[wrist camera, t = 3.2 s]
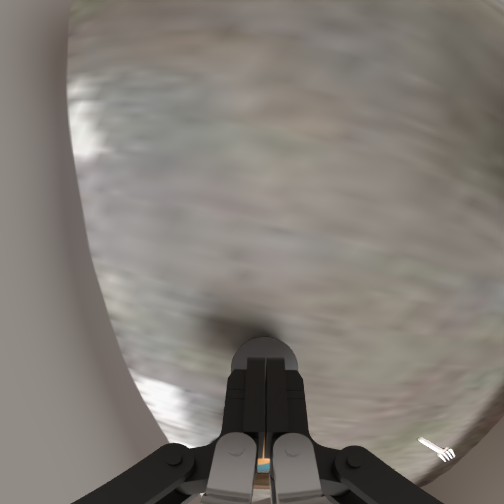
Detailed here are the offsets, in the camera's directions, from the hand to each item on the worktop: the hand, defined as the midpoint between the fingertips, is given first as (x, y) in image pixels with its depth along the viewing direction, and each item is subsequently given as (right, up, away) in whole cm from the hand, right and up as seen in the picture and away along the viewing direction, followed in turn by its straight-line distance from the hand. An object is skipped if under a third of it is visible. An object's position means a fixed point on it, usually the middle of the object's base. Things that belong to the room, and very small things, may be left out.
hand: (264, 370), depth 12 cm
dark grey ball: (+1, -5, +12) cm, 13 cm away
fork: (+33, -31, +27) cm, 52 cm away
